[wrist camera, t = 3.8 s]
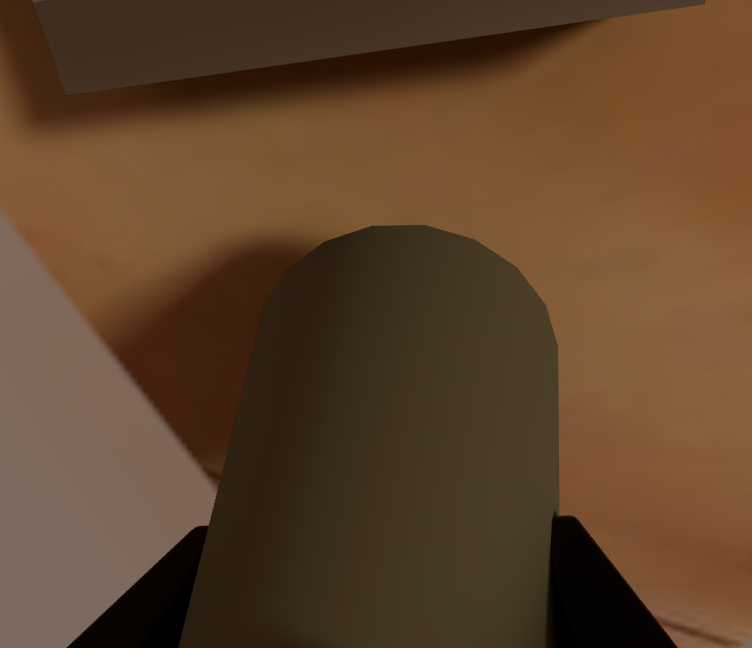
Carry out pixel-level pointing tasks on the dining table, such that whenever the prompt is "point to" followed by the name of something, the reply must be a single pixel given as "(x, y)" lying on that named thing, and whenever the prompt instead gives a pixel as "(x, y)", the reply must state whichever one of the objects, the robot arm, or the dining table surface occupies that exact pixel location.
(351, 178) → the dining table surface
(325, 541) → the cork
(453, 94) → the dining table surface
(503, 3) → the hole block
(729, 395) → the dining table surface
